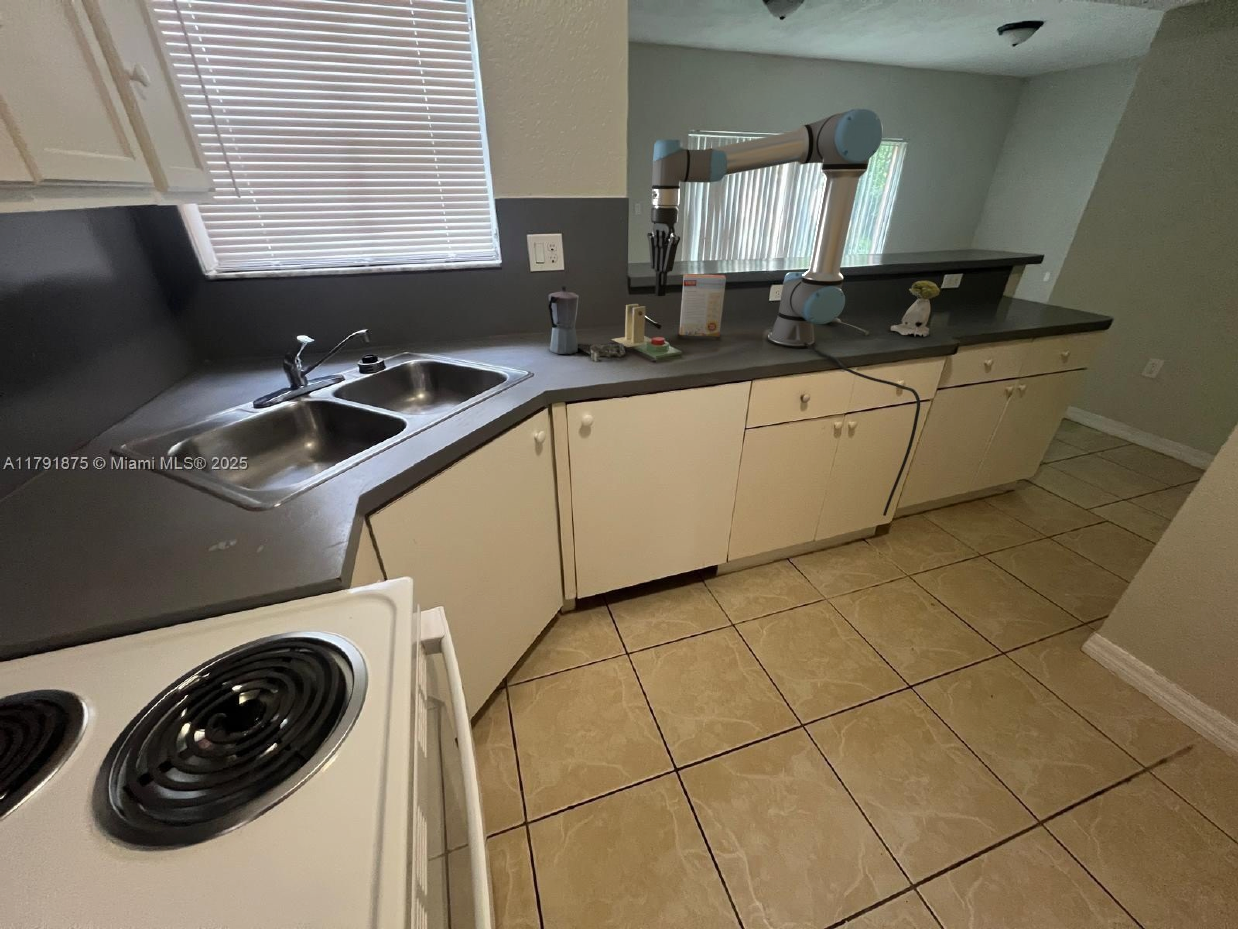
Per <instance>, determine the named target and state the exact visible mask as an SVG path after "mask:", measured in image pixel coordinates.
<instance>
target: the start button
mask: <svg viewBox="0 0 1238 929" xmlns="http://www.w3.org/2000/svg"><path fill="white" fill-rule="evenodd" d="M651 339H652V344H653V345H664V341H666V339H665V337H661V336H654V337H652V338H651Z"/></svg>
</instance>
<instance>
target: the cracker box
mask: <svg viewBox="0 0 1238 929" xmlns="http://www.w3.org/2000/svg"><path fill="white" fill-rule="evenodd" d="M726 282H727V277H726V276H725V275H724V274H699V273H698V274H697V273H695V274H693V273H691V274H689V273H685V274H683V282H682V293H681V305H680V321H679V335H680V336H692V337H693V336H695V337H718V338H719V337H720V334H721V326H722V317H723V309H724V299H725V290H726Z"/></svg>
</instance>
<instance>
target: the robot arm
mask: <svg viewBox="0 0 1238 929" xmlns="http://www.w3.org/2000/svg"><path fill="white" fill-rule="evenodd" d="M883 136H884V129H883V123H882V120H881V119H880V116H878V114H877V113H876V111H875V112H874V111H873V110H871V109H867V108H856V109H850V110H848V111H844V112H841V113H835V114H832V115H830V116H827V117H825V118H823V119H820V120H817V121H814V122H811V123H808V124H804V125H800V126H799V127H798V128H797V130H794V131H789V132H785V133H780V134H779V133H778V134H775V135H769V136H764V137H759V138H755V139H749V140H743V141H740V142H735V143H730V144H725V145H720V146H715V147H710V148H705V149H688V148H684V145H683V141H682V140H681V139H669V138H667V139H666V138H665V139H658V140H656V141H655V143H654V146H653V158H652V176H651V178H652V179H651V180H652V181H651V205H652V206H653V207H651V209H650V222H651V223H652V224H653V226H652V231H651V232H647V233H646V237H647V240H648V247H649V260H650V268H651V269H652V270H654V273H655V274H654V275H655V276H654V283H655V285H654V288H655V289H654V296H655V297H665V296H666V289H667V288H666V287H667V283H668V282H667V281H668V273H670V272H672V271H673V269H674V266H675V265H674V264H675V260H676V254H677V250H678V245H679V243H680V241H681V236H679V235H678V236H677V235H676V228H675V224H676V223H678V220H679V209H678V206H679V204H680V190H681V189H680V188H681V183H698V184H699V183H701V184H702V183H703V184H705V183H706V184H707V183H709V184H715V183H721V182H723V181H724V179H725V177H727V176H731V175H735V174H736V175H737V174H741V173H746V172H750V171H756V170H762V169H767V168H772V167H777V166H782V165H787V164H792V163H797V164H798V165H799V166H801V165H808V164H821V169H820V171H821V173H822V174H823V176H824V178H825V180H824V184H823V185H824V186H823V191H822V195H821V196H822V197H821V202H820V208H819V213H818V219H817V225H816V230H815V235H814V239H813V240H814V241H813V247H812V252H811V256H810V262H809V269H808V270H807V271H792V272H791V271H790V272H787V273H786V274H785V276H784V280H783V282H782V289H781V295H780V300H779V307H778V313H777V316H776V317H777V318H776V319H775V321H774V323H773V325H772V327H771V329H770V331H769V334H768V337H767V340H768V342H770V343H772V344H773V345H776V346H781V347H785V348H795V349H802V348H808V349H810V350H811V351H813V352H814V353H816V354H817V355H820V356H822V357H825V358H827V359H830V360H831V361H833V362H835V363H836V364H838V365H839V366H840V368H841V369H843V370H845V371H846V372H848V373H850V374H852V375H855V376H857V377H860V378H864V379H866V380H870V381H873V382H877V383H881V384H885V385H890V386H893V387H896V388H898V389H902V390H905V391H909V392H911V393H912V394H913V396H914V398H915V401H916V409H915V414H914V420H913V425H912V429H911V434H910V438H909V442H908V445H907V449H906V451H905V454H904V458H903V461H902V463H901V466H900V468H899V471H898V473H897V476H896V479H895V481H894V484H893V486H892V489H891V491H890V494H889V496H888V499H887V502H886V505H885V507H884V510H883V513H882V516H883V517H886V516H887V514H888V510H889V508H890V504H891V502H892V499H893V497H894V494H895V492H896V489H897V487H898V484H899V483H900V479H901V477H902V475H903V472H904V469H905V467H906V464H907V462H908V458H909V456H910V453H911V449H912V447H913V444H914V439H915V436H916V431H917V428H918V422H919V416H920V411H921V399H920V395H919V394H918V392H917V391H916V390H915V389H914V388H912V387H909V386H905V385H903V384H900V383H896V382H893V381H888V380H885V379H881V378H876V377H872V376H869V375H866V374H863V373H860V372H857V371H855V370H852V369H850V368H849V367H847V366H845V365H844V364H843V363H842V362H841V361H840V360H839V359H838V358H837V357H834V356H832V355H830V354H826V353H824V352H821V351H820V350H817V349H816V348H814V347H813V345H814V342H815V333H814V332H815V331H814V325H827V324H829V323H831V322H833V320H834V319H835V318H838V317H839V316H840V315H841V313H842V312H843V310H844V308H845V306H846V296H845V294H844V291H843V290H842V286H843V283H844V276H843V274H842V273H841V265H842V260H843V255H844V252H845V246H846V242H847V237H848V233H849V228H850V222H851V219H852V214H853V209H854V205H855V200H856V195H857V190H858V187H859V181H860V179H861V177H862V176H863V175H864V174H865V173H867V171H868V168H869V163H870V160H871V158H873V156H874V155H875V153H876V152H878V150H879V148H880V146H881V145H882V140H883Z"/></svg>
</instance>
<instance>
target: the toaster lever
mask: <svg viewBox="0 0 1238 929" xmlns="http://www.w3.org/2000/svg"><path fill="white" fill-rule="evenodd" d="M634 307H635V306H632V308H631V310H630V311H629V313H631V314H632V315H633V308H634ZM645 322H647V323H648V325H649V326H651V327H653V328H656V329H658V330H661V329H662V325H661V324H660V323H658V322H655V321H654V320H651V319H650V318H649V317H648V316H647V315H645Z"/></svg>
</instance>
